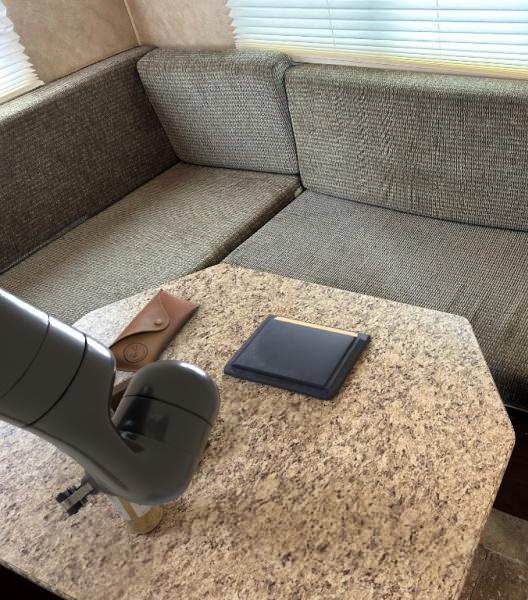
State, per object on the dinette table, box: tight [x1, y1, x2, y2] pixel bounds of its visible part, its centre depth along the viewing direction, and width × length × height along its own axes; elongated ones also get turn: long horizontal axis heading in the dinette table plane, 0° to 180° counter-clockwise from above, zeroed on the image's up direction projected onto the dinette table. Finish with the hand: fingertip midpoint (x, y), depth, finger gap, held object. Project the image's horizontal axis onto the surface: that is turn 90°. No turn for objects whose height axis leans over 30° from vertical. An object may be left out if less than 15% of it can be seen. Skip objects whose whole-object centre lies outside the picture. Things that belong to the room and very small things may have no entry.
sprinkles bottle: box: [105, 494, 164, 535], centre depth 73 cm, size 5×5×13 cm
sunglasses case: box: [107, 288, 201, 373], centre depth 105 cm, size 18×7×7 cm
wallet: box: [222, 313, 372, 402], centre depth 98 cm, size 20×2×15 cm
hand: (110, 469), depth 73 cm, fingers closed on sprinkles bottle, 4 cm apart
